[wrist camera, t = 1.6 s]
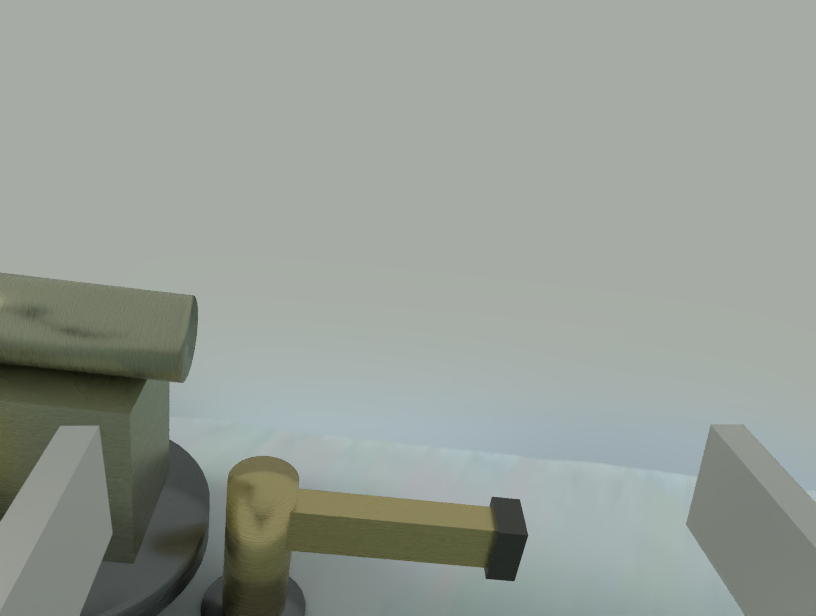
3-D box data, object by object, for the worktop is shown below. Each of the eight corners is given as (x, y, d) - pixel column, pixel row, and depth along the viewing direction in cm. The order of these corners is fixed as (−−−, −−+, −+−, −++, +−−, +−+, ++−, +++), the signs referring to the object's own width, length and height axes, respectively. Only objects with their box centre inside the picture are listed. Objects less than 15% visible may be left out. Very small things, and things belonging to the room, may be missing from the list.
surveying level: (-230, 808, 28) (-393, 425, 20) (15, 450, 46) (-17, 176, 38) (279, 835, 29) (322, 494, 21) (319, 479, 48) (351, 223, 40)
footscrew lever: (216, 624, 36) (221, 499, 33) (228, 573, 39) (234, 452, 36) (497, 646, 38) (533, 528, 34) (489, 595, 41) (522, 481, 37)
